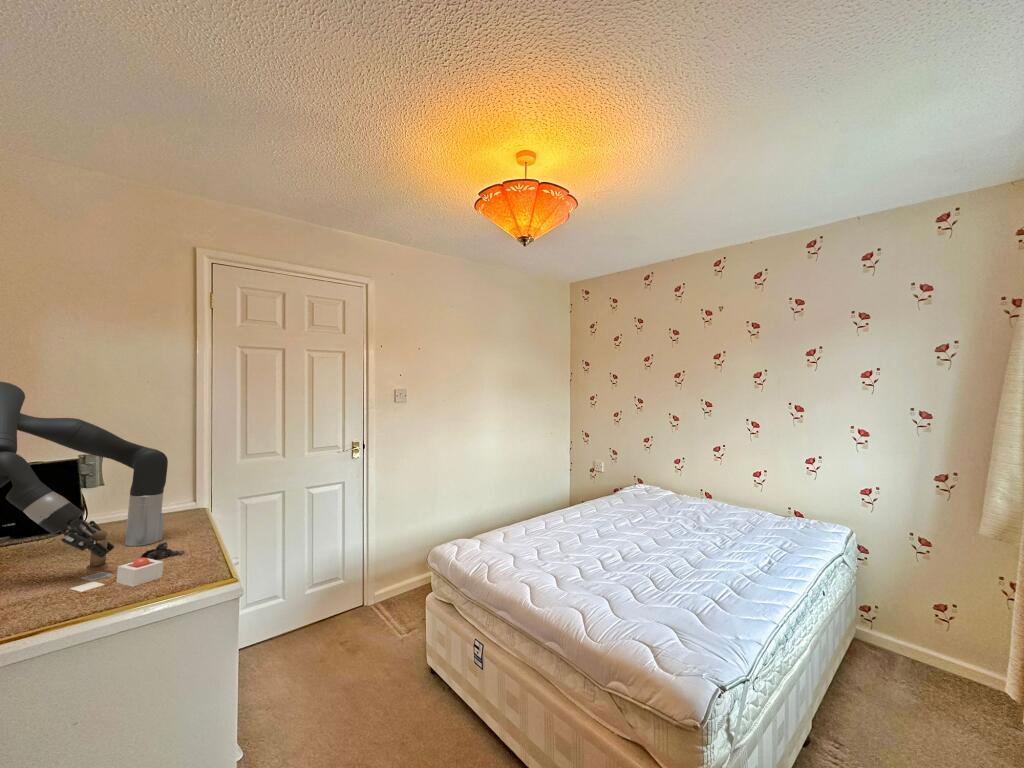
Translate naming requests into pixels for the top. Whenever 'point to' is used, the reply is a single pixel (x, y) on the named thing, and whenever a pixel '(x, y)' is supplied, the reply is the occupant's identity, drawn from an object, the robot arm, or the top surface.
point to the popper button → (141, 562)
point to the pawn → (95, 560)
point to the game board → (91, 584)
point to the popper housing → (139, 573)
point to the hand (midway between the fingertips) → (108, 552)
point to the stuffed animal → (161, 552)
